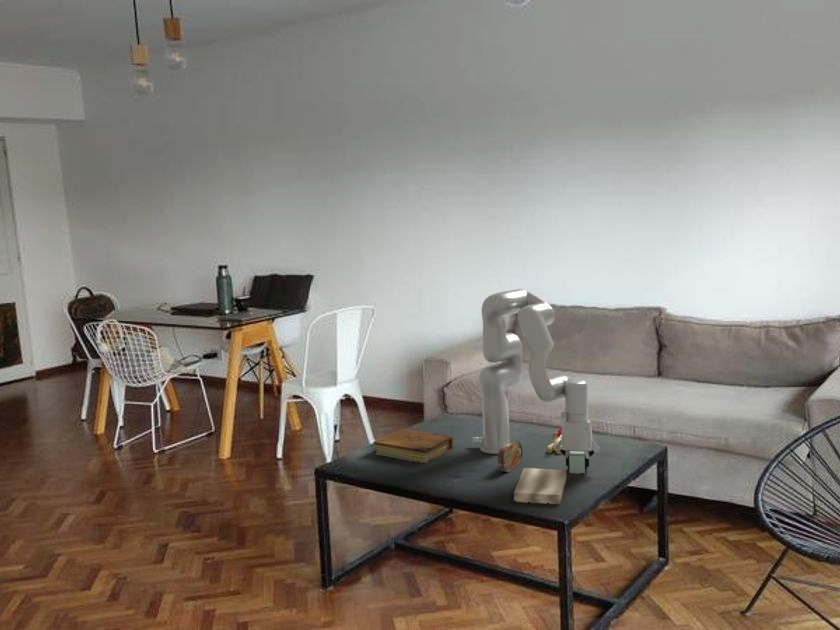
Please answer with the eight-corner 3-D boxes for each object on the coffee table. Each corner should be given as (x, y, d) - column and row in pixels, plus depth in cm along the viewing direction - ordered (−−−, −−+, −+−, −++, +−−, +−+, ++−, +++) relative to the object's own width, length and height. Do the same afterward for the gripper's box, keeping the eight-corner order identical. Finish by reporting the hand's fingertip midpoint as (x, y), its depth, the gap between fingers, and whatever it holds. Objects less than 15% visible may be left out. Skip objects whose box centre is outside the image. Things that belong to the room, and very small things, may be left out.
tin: (504, 475, 276) (504, 451, 274) (496, 474, 277) (495, 450, 276) (523, 461, 288) (522, 438, 287) (515, 460, 290) (514, 437, 288)
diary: (453, 450, 306) (452, 435, 305) (425, 466, 290) (425, 450, 289) (403, 441, 318) (402, 427, 317) (374, 456, 303) (373, 441, 302)
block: (569, 473, 275) (569, 455, 274) (570, 467, 280) (570, 451, 279) (584, 473, 273) (584, 456, 273) (585, 468, 278) (585, 451, 277)
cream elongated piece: (567, 459, 293) (592, 434, 313) (565, 436, 291) (591, 412, 311) (541, 455, 298) (567, 430, 318) (540, 432, 296) (566, 409, 316)
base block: (514, 501, 253) (513, 492, 252) (524, 476, 273) (524, 467, 273) (559, 504, 249) (559, 494, 248) (566, 478, 270) (566, 469, 269)
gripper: (549, 419, 272) (551, 471, 275) (602, 420, 268) (602, 473, 271) (552, 412, 279) (553, 463, 282) (603, 414, 275) (603, 465, 278)
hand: (577, 467), depth 276 cm, fingers closed on block, 5 cm apart
